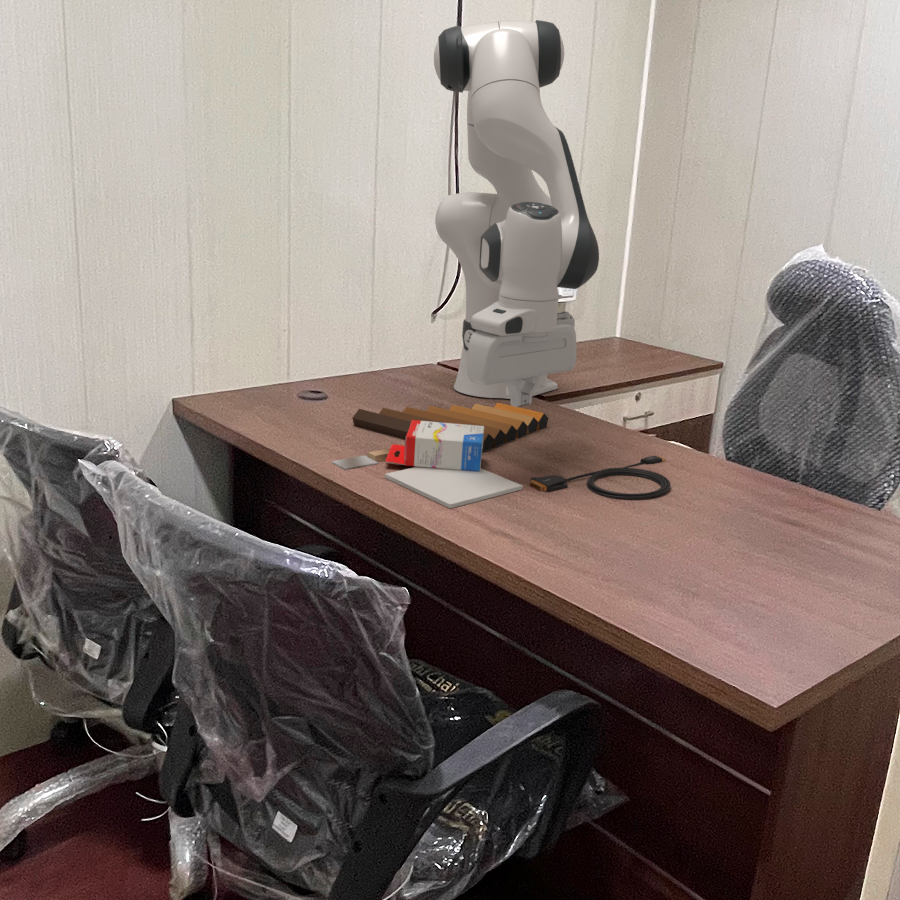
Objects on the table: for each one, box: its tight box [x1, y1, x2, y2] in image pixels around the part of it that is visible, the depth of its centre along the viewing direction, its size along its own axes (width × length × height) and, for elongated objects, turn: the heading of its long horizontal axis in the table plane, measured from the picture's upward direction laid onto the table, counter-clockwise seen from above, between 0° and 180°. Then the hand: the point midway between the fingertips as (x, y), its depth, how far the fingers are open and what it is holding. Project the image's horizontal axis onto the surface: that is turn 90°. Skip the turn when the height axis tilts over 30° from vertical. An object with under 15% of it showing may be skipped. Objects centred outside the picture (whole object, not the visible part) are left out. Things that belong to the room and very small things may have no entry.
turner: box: [331, 448, 400, 471], centre depth 151 cm, size 15×4×1 cm, turn 127°
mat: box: [384, 466, 523, 509], centre depth 142 cm, size 14×15×1 cm
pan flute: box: [352, 402, 549, 453], centre depth 170 cm, size 25×3×25 cm
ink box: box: [385, 420, 484, 471], centre depth 149 cm, size 8×5×15 cm
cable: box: [529, 455, 672, 500], centre depth 146 cm, size 14×28×2 cm, turn 125°
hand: (520, 405), depth 147 cm, fingers closed
